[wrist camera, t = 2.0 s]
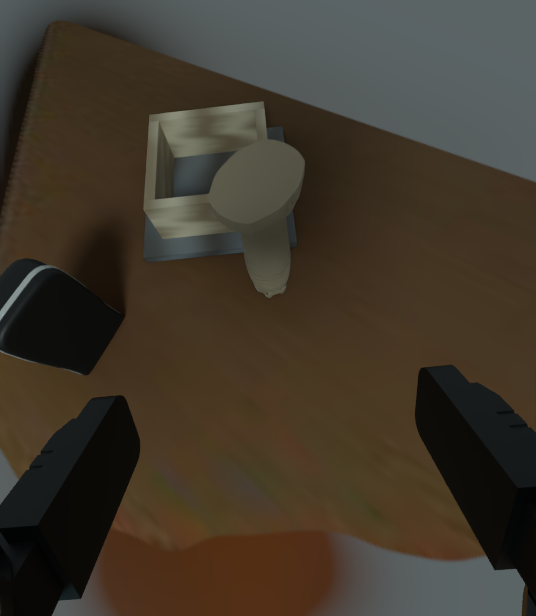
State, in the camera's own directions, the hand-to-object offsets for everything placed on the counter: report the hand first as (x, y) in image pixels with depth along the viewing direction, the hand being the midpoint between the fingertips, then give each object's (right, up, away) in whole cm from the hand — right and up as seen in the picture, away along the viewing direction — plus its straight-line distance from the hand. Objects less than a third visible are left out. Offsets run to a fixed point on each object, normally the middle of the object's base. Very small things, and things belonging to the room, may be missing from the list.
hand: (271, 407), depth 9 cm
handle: (0, +5, +25) cm, 26 cm away
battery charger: (-17, 0, +24) cm, 30 cm away
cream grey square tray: (-6, +16, +29) cm, 34 cm away
